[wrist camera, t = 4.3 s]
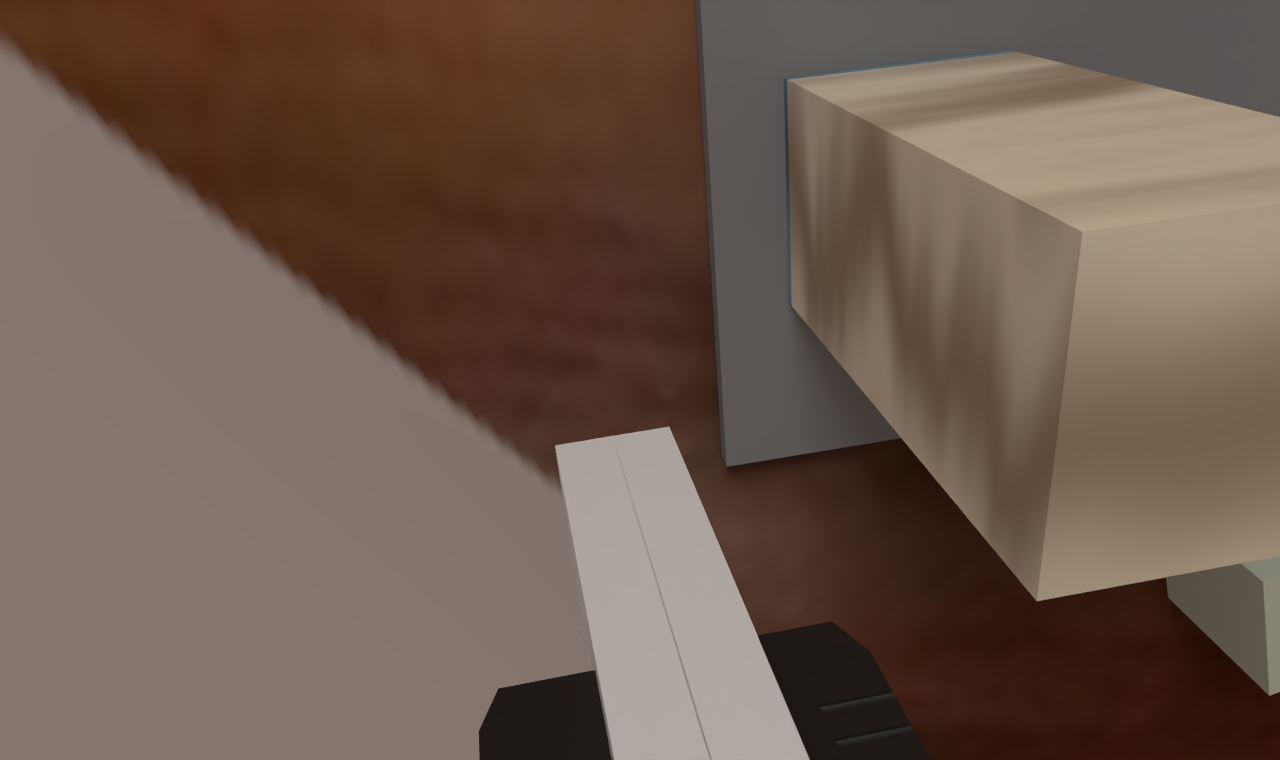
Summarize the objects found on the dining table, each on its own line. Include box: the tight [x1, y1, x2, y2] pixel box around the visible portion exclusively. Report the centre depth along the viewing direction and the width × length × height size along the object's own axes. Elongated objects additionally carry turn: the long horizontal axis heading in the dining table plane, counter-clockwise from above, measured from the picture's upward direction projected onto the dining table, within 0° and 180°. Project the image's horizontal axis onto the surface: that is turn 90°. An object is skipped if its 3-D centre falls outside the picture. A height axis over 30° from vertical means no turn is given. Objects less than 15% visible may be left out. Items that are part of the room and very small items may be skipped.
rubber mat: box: [695, 0, 1280, 467], centre depth 26 cm, size 16×24×1 cm, turn 95°
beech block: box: [784, 50, 1280, 601], centre depth 20 cm, size 6×6×13 cm
